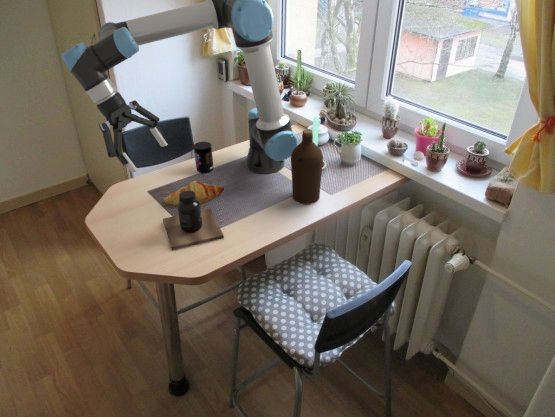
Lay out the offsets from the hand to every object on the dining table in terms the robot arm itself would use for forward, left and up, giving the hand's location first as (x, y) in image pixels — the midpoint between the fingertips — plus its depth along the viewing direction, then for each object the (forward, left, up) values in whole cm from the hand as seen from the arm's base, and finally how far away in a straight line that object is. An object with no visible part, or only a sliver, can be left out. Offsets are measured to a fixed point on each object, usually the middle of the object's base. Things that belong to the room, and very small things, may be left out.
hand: (150, 158), depth 141 cm
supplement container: (-21, -24, -21) cm, 38 cm away
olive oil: (-49, +9, -21) cm, 54 cm away
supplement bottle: (-8, +13, -20) cm, 25 cm away
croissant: (-13, -5, -21) cm, 25 cm away
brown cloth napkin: (-8, +13, -21) cm, 26 cm away
